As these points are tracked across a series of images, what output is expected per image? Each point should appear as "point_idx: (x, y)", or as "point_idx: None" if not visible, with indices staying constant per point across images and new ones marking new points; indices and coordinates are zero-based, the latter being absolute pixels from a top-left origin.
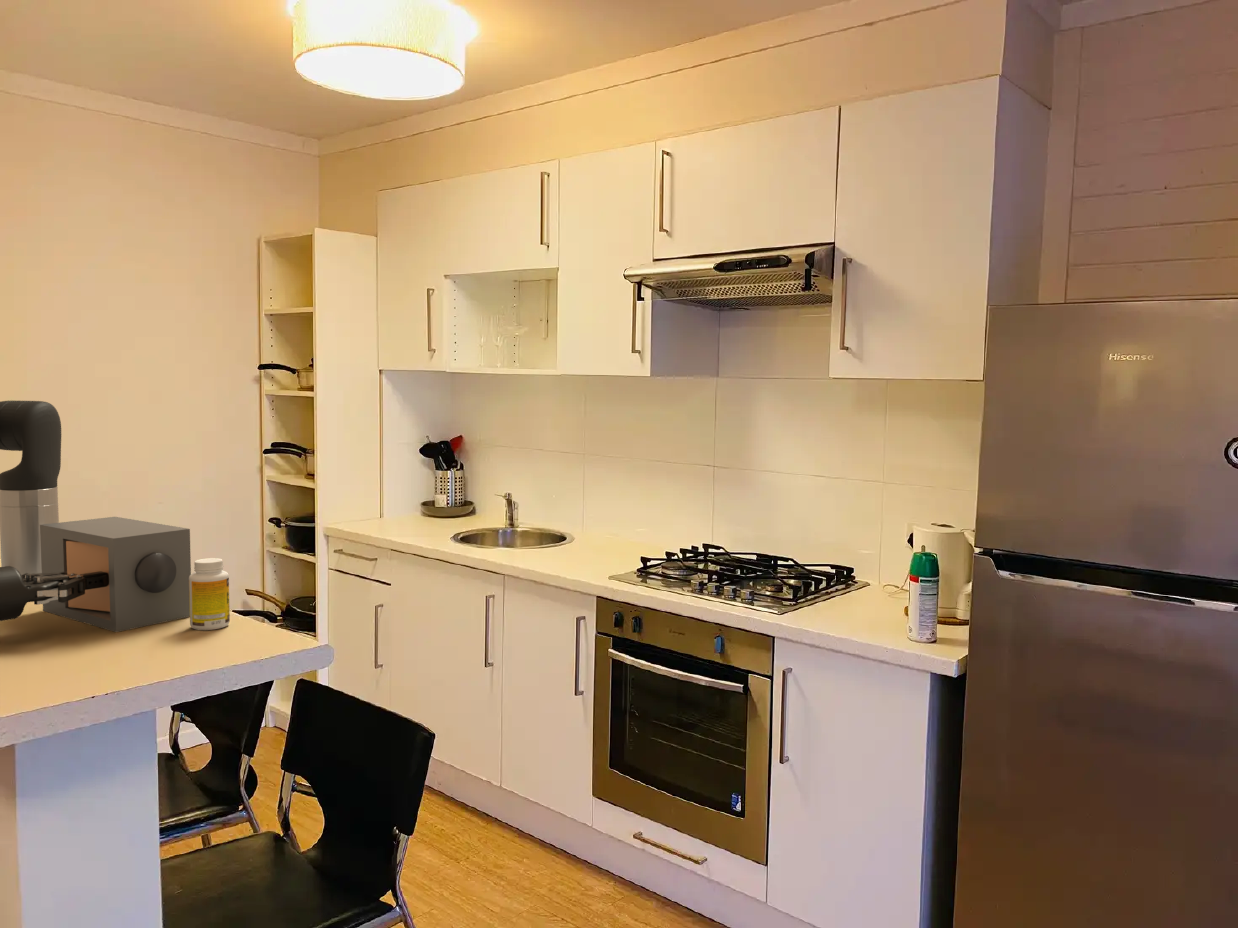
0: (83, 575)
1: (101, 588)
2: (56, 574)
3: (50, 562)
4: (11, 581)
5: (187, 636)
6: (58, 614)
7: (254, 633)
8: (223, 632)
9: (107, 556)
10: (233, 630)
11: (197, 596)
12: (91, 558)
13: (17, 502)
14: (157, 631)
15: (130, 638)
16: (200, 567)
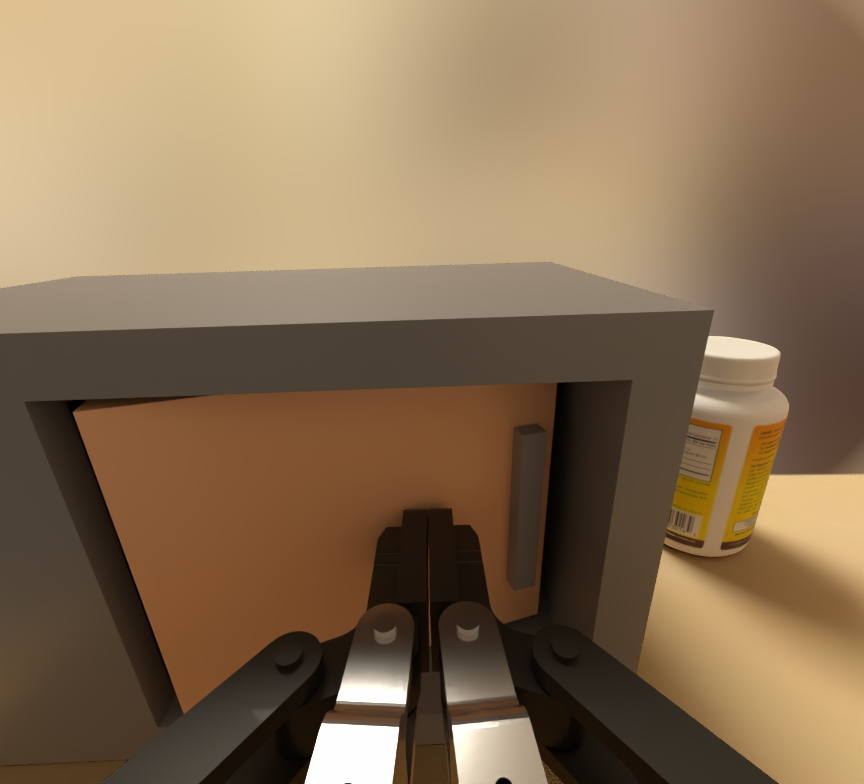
0: (458, 599)
1: None
2: (397, 755)
3: None
4: None
5: (809, 601)
6: (99, 759)
7: (818, 502)
8: (780, 532)
9: (432, 430)
10: (761, 514)
11: (763, 467)
12: (318, 466)
13: None
14: (686, 628)
15: (783, 747)
16: (770, 373)
